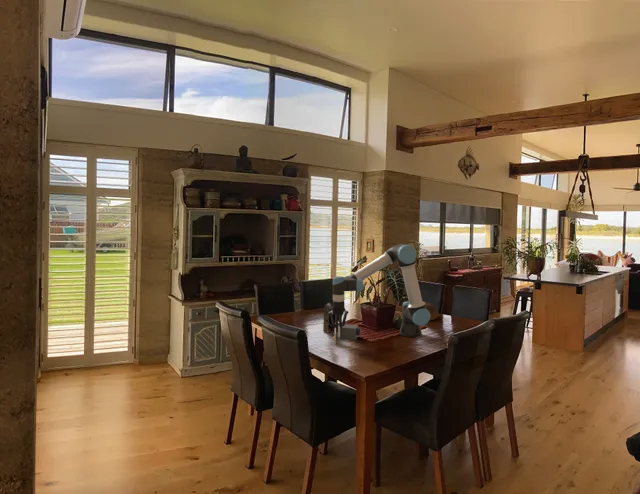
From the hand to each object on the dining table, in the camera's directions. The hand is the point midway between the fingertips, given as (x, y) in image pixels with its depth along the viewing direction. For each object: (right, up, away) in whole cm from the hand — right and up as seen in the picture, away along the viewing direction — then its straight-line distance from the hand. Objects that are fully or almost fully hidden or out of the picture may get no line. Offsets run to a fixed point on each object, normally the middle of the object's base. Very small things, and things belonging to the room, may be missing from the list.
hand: (338, 336), depth 274 cm
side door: (-2, -3, +3) cm, 5 cm away
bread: (+70, 0, +74) cm, 102 cm away
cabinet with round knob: (+6, -3, +12) cm, 14 cm away
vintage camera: (-1, -2, +28) cm, 28 cm away
